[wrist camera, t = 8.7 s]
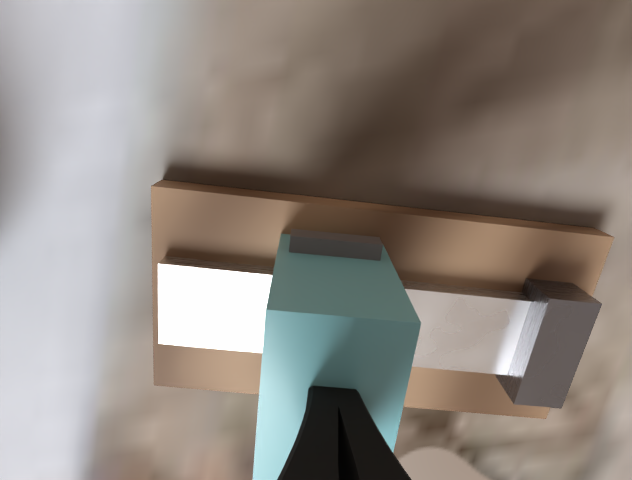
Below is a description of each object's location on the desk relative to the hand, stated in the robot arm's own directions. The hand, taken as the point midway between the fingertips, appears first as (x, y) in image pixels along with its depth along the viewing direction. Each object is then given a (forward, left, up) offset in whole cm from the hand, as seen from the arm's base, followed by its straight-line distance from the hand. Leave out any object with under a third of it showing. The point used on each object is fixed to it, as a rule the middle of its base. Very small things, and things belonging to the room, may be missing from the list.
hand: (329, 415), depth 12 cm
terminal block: (0, 0, -6) cm, 6 cm away
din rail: (-2, 0, -6) cm, 6 cm away
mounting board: (-2, 0, -7) cm, 7 cm away
